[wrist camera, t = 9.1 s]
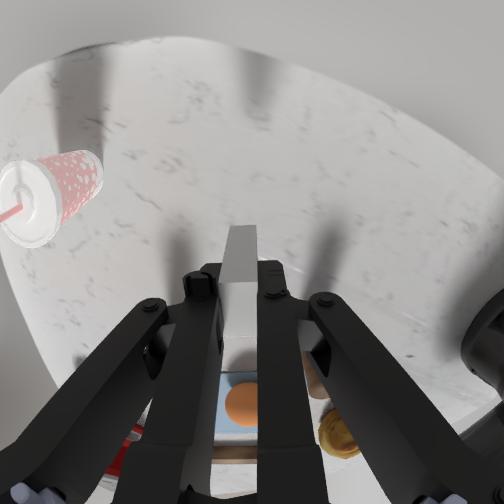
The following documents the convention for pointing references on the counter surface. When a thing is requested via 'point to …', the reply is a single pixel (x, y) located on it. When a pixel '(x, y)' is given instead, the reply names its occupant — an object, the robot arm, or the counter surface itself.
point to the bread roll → (336, 437)
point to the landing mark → (226, 385)
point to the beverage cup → (46, 194)
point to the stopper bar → (234, 455)
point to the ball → (242, 404)
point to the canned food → (119, 461)
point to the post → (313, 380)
